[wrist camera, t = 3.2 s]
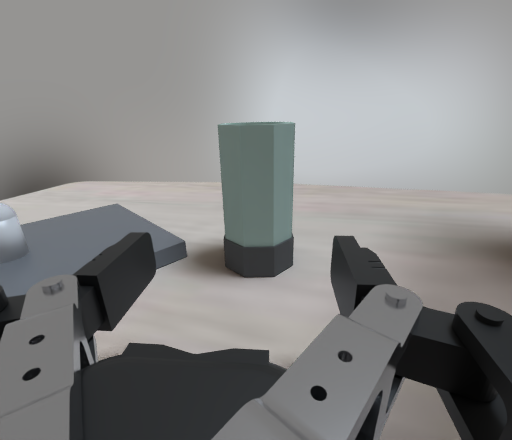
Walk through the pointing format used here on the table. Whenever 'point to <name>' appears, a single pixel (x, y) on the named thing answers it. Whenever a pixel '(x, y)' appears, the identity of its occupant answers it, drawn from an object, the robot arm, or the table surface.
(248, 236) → the sleeve
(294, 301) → the table surface
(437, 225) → the table surface
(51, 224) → the pin board
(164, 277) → the table surface
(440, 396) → the robot arm
